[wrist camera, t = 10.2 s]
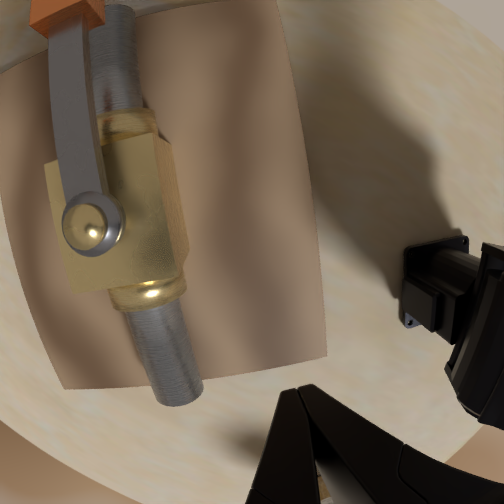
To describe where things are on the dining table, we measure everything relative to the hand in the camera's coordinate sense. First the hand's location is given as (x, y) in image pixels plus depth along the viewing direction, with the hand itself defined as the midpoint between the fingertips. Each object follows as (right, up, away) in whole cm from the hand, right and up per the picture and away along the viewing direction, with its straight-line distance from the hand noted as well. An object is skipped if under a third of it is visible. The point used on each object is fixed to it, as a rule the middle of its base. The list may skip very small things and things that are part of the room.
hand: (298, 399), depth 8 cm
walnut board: (-8, +7, +11) cm, 15 cm away
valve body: (-8, +7, +11) cm, 15 cm away
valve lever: (-8, +11, +3) cm, 14 cm away
